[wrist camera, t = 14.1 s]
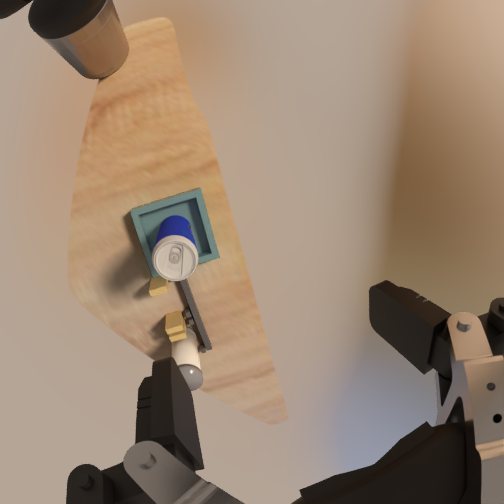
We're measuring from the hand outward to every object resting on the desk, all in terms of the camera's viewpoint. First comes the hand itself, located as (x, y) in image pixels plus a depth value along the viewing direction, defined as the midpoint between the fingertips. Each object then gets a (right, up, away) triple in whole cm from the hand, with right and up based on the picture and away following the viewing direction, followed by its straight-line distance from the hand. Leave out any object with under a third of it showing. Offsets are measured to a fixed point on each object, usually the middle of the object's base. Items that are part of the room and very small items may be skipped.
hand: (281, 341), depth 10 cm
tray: (-13, +7, +33) cm, 37 cm away
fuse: (-14, -12, +39) cm, 43 cm away
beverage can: (-13, +7, +33) cm, 36 cm away
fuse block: (-13, -7, +38) cm, 41 cm away
